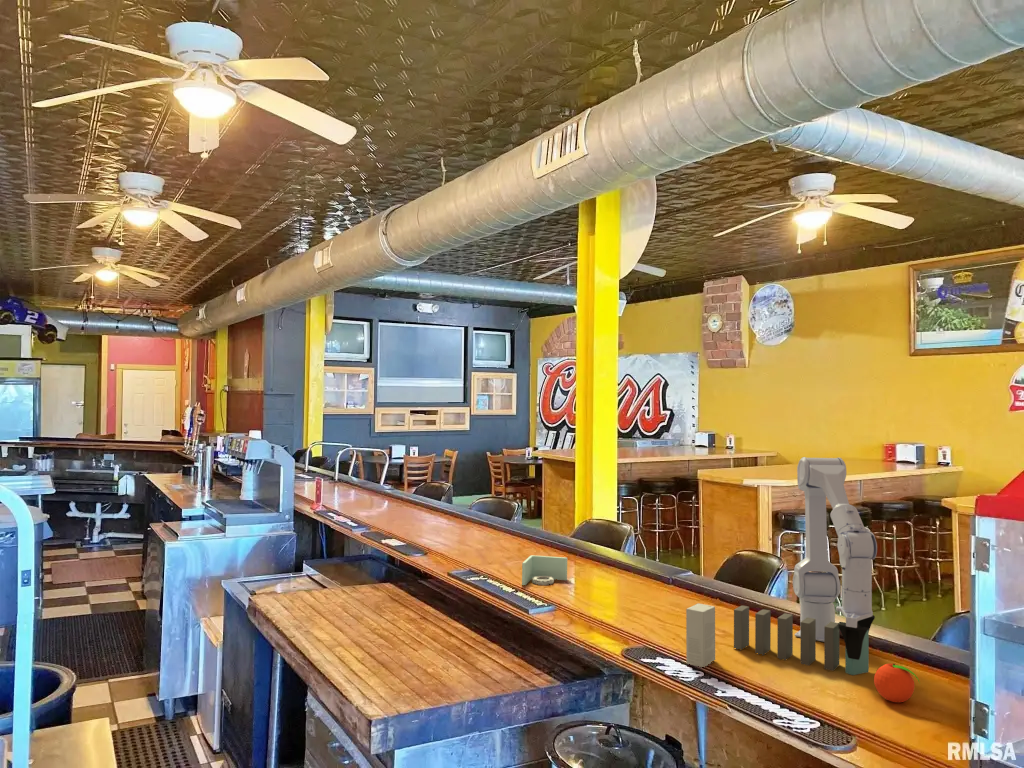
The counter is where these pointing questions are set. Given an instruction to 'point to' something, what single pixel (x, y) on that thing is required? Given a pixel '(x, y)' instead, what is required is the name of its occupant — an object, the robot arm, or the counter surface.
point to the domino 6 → (863, 663)
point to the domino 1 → (741, 627)
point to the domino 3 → (785, 636)
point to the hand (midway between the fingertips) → (856, 653)
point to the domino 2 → (762, 631)
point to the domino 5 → (831, 646)
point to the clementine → (894, 682)
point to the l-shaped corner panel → (544, 569)
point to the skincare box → (700, 635)
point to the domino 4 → (808, 641)
